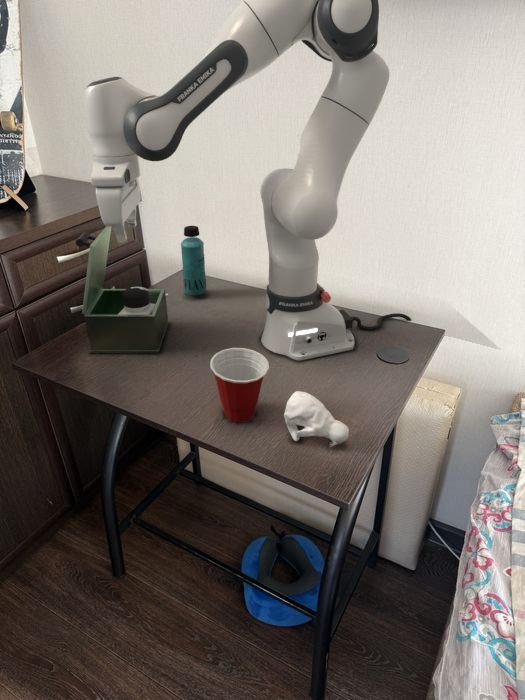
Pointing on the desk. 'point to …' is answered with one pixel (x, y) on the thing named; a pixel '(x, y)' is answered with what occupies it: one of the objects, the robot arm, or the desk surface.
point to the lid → (95, 264)
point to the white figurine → (312, 419)
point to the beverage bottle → (193, 262)
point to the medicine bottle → (136, 302)
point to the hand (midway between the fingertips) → (127, 234)
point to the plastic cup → (239, 381)
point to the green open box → (126, 324)
